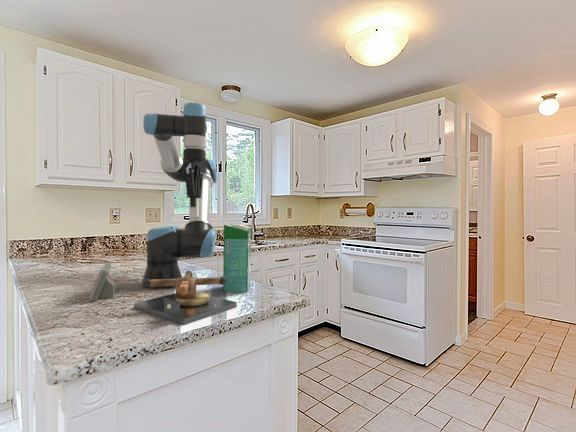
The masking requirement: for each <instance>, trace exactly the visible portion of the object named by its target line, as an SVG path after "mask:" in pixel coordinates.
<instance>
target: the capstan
mask: <svg viewBox="0 0 576 432" xmlns="http://www.w3.org/2000/svg"><path fill="white" fill-rule="evenodd" d="M193 275H194V274H193V272H192V271H190V270H187V271H186V272H185V273H184V276H182V277H180V278H177V279H153V280H151V279H146V280H145V281H144V286H145V287H144V288H149V287H158V286H173V287H175V293H176V301H180V305H181V306H197V305H202V304H205V303H207V302H209V296H210V294H208V293H206V292H197V286H206V285H207V286H208V285H210V286H211V285H222V286H223V285H224V284H225V283H226V278H225V277H223V276H219V277H217V276H216V277H195V276H193ZM149 289H150V288H149Z"/></svg>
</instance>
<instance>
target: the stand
mask: <svg viewBox="0 0 576 432" xmlns="http://www.w3.org/2000/svg"><path fill="white" fill-rule="evenodd" d="M237 305H238V302H237V301H233V300H229V299H226V298H221V297H216V296H213V295H209V302H207V303H205V304H202V305H197V306H181V305H180V301H176V292H175V293H172V294H171V293H170V294H168V295H163V296H158V297H154V298H151V299H146V300H142V301H141V300H140V301H138V302H134V303H133V309H135V310H138V311H142V312H143V313H147V314H150V315H153V316H156V317H159V318H161V319H165V320H167V321H171V322H174V323H176V324H179V325H182V326H184V325H185V326H186V325H187V324H190V323H193V322H197V321H199V320H203V319H206V318H209V317H212V316H215V315H217V314H220V313H222V312H227V311H229V310H232V309H234V308H238V306H237Z"/></svg>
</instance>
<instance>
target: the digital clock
mask: <svg viewBox="0 0 576 432" xmlns="http://www.w3.org/2000/svg"><path fill="white" fill-rule="evenodd" d="M111 267H112V264H111V263H110V262H103V265H102V267H101V268H100V270H99V272H98V275H97V277H96V279H95V281H94V284H93V287H92V290H91V292H90V294H89V295H88V296H89V297H88V300H89V301H90V302H97V301H98V300H104V299H105V300H106V299H113V298H114V297H115V292H116V281H115V279H114V278H112V277H111V275H110V274H109V272H110V269H111Z"/></svg>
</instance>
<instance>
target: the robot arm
mask: <svg viewBox="0 0 576 432" xmlns="http://www.w3.org/2000/svg"><path fill="white" fill-rule="evenodd" d="M182 114H183V115H175V114H163V113H145V114H144V116H143V122H142V123H143V125H142V127H143V130H144V133H145V134H146V135H151V136H153V138H154V141H155V144H156V147H157V151H158V154H159V156H160V166H161V169H162V170H163V173H165V174H166V175H167V176H168V177H169V178H170V179H173V180H174V181H177V182H181V183H185V187H186V189H185V190H186V197H187V199H188V198H189V212H188V213H189V214H188V215H189V216H188V222H187V223H186V224H185V226H184V229H183V228H181V229H180V228H179V226H178V225H168V226H162V227H155V228H150V229H149V230H148V231H147V236H146V267H145V271H144V274H143V276H142V278H141V285H142V286H141V287H144V288H146V287H145V286H144V281H145V280H146V279H151V280H153V279H177V278H180V277H183V276H182V273H181V270H180V267H179V264H178V263H179V259H182V258H183V259H185V258H186V259H189V258H190V259H191V258H192V259H193V258H194V259H195V258H196V259H197V258H200V259H203V258H210V257H212V256H213V255H214V254H215V253H214V251H215V247H216V240H217V229H214V228H213V225H212V224H211V222H210V216H211V215H210V213H211V212H210V210H211V209H210V207H211V206H210V205H211V198H210V197H211V188H212V187H213V185H214V184H217V181H218V179H217V178H218V176H217V167H216V162H215V160H213V159H209V158H207V157H206V155H207V153H206V150H205V149H207V139H206V137H207V136H206V134H207V130H208V129H207V128H208V126H207V108H206V106H205V105H204V104H202V103H199V102H186V103H185V104H184V105H183V112H182ZM175 137H183V138H182V141H181V142H183V148H184V149H183V151H182V156H183V157H181V156H180V155H179V152H178V151H179V150H178V146H177V142H176V138H175ZM165 288H167V289H168V288H174V286H158V287H149V289H165Z"/></svg>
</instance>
